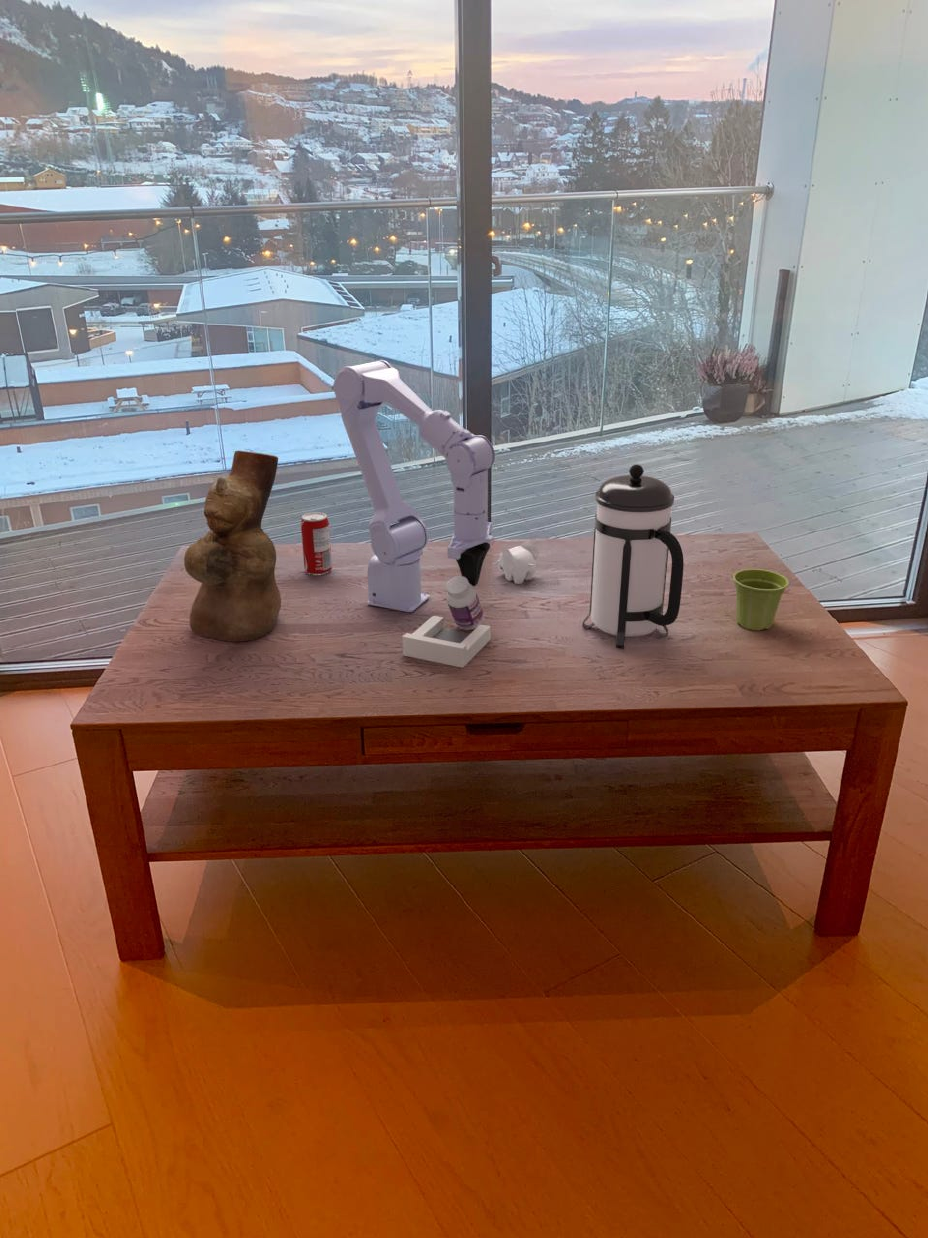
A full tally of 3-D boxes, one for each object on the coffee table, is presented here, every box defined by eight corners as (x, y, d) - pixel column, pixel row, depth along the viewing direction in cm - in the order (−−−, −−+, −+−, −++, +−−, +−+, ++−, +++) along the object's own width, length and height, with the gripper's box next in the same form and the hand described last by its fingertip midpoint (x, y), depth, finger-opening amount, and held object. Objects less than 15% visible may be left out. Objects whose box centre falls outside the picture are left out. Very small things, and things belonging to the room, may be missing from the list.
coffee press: (571, 645, 161) (579, 474, 148) (592, 609, 175) (601, 449, 162) (673, 661, 155) (691, 484, 143) (687, 622, 169) (704, 458, 156)
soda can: (309, 565, 195) (304, 509, 190) (335, 566, 195) (331, 510, 190) (301, 575, 190) (296, 518, 185) (327, 576, 190) (323, 519, 185)
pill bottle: (482, 630, 166) (470, 596, 158) (453, 631, 167) (439, 597, 160) (486, 606, 169) (474, 571, 161) (457, 607, 170) (444, 573, 163)
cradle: (403, 655, 158) (402, 636, 156) (433, 628, 167) (433, 610, 166) (462, 667, 154) (462, 648, 152) (490, 639, 163) (490, 621, 162)
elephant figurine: (510, 566, 194) (510, 533, 191) (546, 578, 188) (547, 545, 185) (484, 576, 189) (485, 543, 186) (521, 589, 183) (522, 555, 180)
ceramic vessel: (172, 633, 166) (147, 466, 154) (252, 590, 184) (236, 437, 171) (243, 652, 159) (223, 479, 147) (319, 605, 177) (307, 447, 164)
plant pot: (785, 618, 171) (792, 573, 167) (778, 639, 163) (784, 592, 159) (732, 609, 174) (738, 565, 171) (723, 629, 166) (728, 584, 163)
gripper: (475, 525, 152) (475, 603, 158) (508, 500, 164) (507, 573, 170) (435, 520, 155) (437, 596, 160) (471, 495, 167) (471, 567, 172)
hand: (470, 584), depth 165 cm, fingers closed
